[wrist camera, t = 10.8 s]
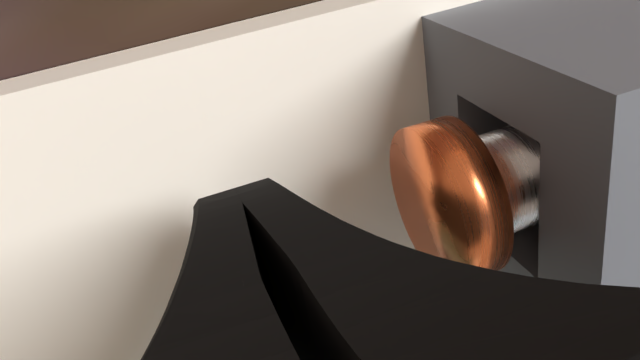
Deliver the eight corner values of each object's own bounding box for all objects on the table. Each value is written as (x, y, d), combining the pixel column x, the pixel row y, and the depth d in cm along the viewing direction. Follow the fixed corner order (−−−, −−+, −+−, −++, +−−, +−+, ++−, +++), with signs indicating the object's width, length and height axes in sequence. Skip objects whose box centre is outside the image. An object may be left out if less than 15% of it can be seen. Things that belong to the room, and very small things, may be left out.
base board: (735, -103, 13) (778, -102, 13) (667, 321, 20) (692, 340, 19) (-186, 127, 10) (-213, 149, 9) (93, 560, 16) (92, 597, 15)
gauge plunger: (665, 22, 12) (808, 57, 9) (651, 147, 13) (771, 204, 11) (382, 106, 11) (463, 169, 8) (398, 233, 12) (471, 319, 10)
